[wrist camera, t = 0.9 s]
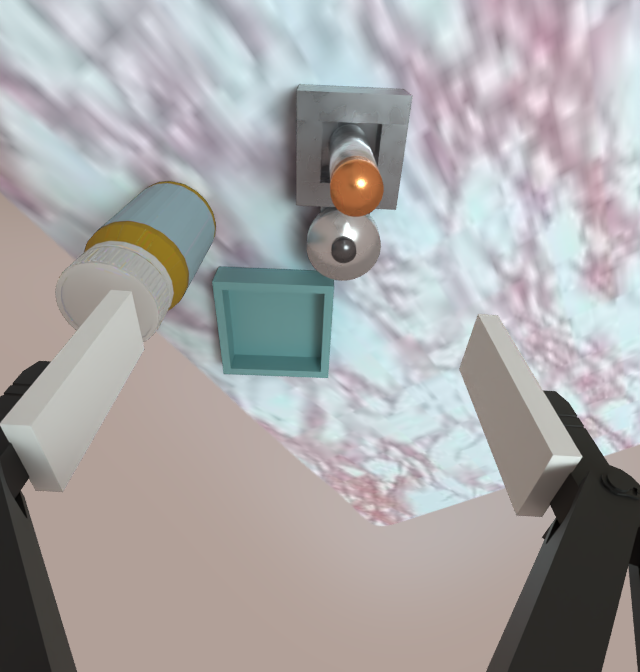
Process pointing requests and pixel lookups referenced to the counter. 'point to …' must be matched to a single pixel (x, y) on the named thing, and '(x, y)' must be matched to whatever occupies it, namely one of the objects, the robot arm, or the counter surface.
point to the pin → (353, 172)
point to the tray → (274, 321)
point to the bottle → (141, 256)
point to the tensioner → (314, 169)
